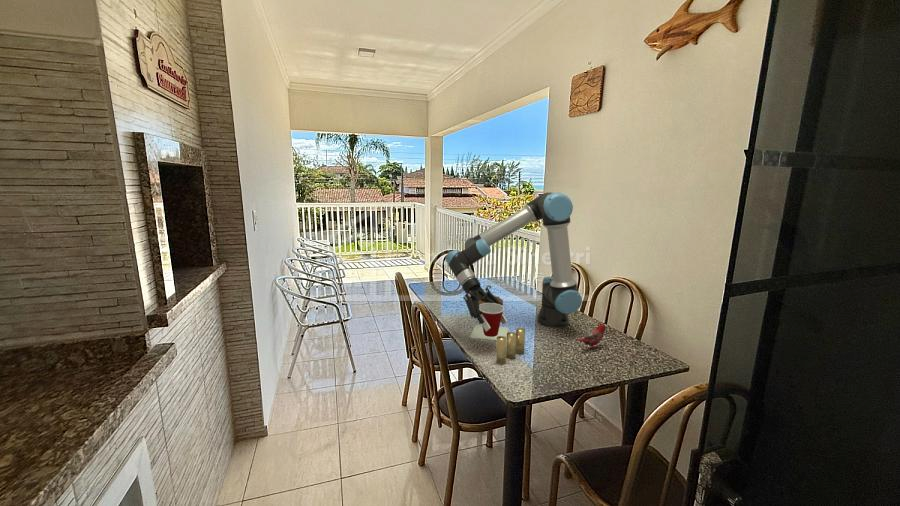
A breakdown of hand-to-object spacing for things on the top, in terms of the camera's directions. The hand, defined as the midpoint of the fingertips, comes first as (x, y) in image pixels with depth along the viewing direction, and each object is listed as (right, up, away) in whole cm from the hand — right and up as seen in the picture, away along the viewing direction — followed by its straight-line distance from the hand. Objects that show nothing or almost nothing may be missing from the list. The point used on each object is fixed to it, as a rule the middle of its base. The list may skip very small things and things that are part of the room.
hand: (496, 326), depth 150 cm
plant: (+2, 0, +64) cm, 64 cm away
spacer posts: (+5, -12, -3) cm, 13 cm away
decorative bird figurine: (+39, -11, +4) cm, 41 cm away
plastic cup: (-2, -4, +3) cm, 6 cm away
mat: (-1, -7, +21) cm, 22 cm away
